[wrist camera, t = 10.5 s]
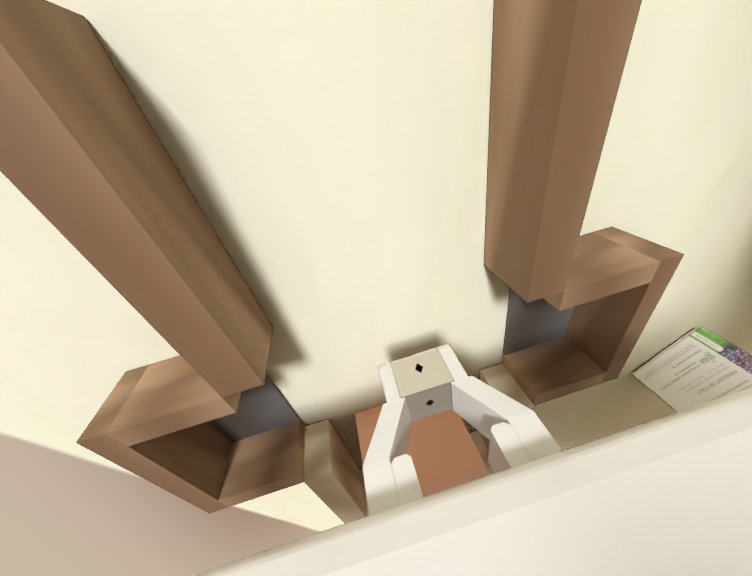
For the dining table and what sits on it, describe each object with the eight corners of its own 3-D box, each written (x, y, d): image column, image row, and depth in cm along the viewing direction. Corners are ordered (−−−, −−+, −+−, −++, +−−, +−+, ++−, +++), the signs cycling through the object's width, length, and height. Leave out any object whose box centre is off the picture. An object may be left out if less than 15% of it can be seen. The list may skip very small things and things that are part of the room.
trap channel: (731, -131, 7) (965, -264, 4) (548, 415, 23) (577, 451, 20) (-226, 86, 6) (-631, 69, 3) (286, 502, 22) (284, 552, 19)
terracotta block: (443, 382, 17) (485, 467, 13) (448, 427, 21) (482, 505, 17) (354, 411, 17) (369, 507, 13) (374, 452, 20) (391, 538, 16)
